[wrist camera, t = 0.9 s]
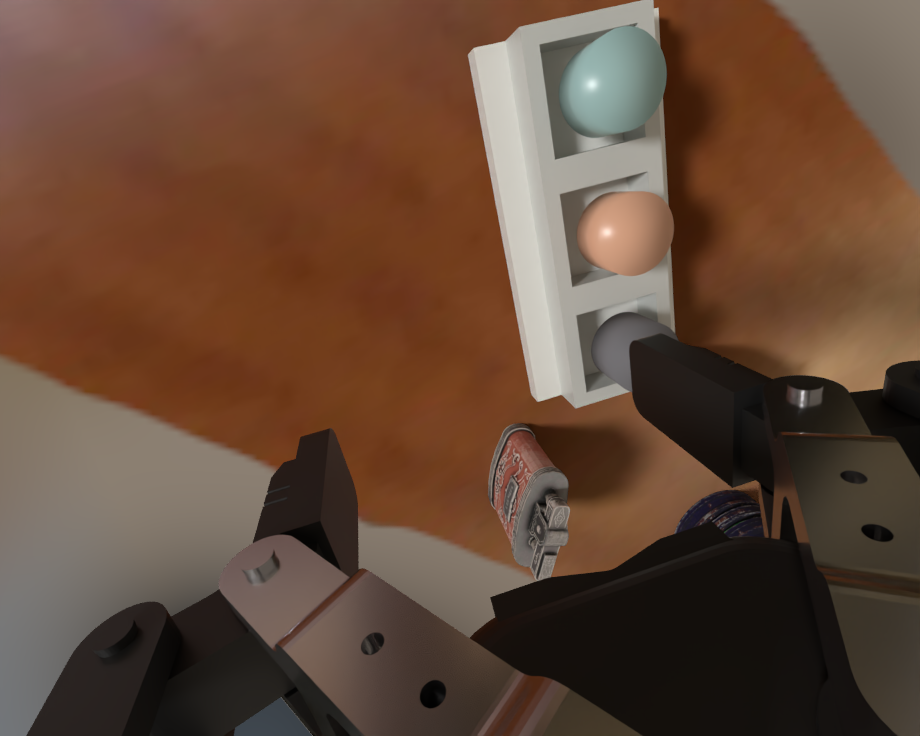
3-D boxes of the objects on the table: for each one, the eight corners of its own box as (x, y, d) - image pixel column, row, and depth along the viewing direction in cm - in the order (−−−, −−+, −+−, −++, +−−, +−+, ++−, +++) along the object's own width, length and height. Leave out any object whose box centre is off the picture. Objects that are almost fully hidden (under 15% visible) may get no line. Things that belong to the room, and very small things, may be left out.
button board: (468, 55, 29) (484, 34, 25) (644, 16, 31) (685, -9, 27) (531, 394, 38) (550, 416, 35) (665, 353, 40) (697, 370, 36)
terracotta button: (571, 201, 29) (594, 202, 26) (642, 183, 30) (671, 182, 27) (581, 277, 31) (603, 285, 28) (648, 258, 32) (675, 264, 29)
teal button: (553, 53, 26) (576, 36, 23) (632, 35, 27) (664, 17, 24) (564, 146, 28) (587, 141, 25) (638, 128, 29) (669, 120, 26)
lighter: (500, 421, 39) (545, 492, 30) (538, 424, 40) (594, 494, 30) (481, 505, 41) (517, 594, 32) (518, 506, 42) (563, 593, 33)
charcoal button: (587, 322, 32) (608, 334, 30) (651, 303, 33) (678, 314, 30) (595, 384, 34) (616, 401, 31) (655, 365, 35) (681, 380, 32)
